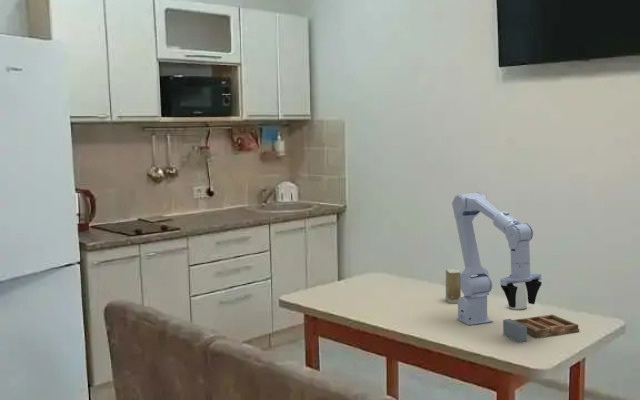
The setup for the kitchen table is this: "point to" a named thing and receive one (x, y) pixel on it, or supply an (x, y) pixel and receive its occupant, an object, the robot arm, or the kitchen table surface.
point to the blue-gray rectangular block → (515, 330)
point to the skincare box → (453, 285)
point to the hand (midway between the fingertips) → (521, 305)
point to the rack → (548, 326)
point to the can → (520, 296)
